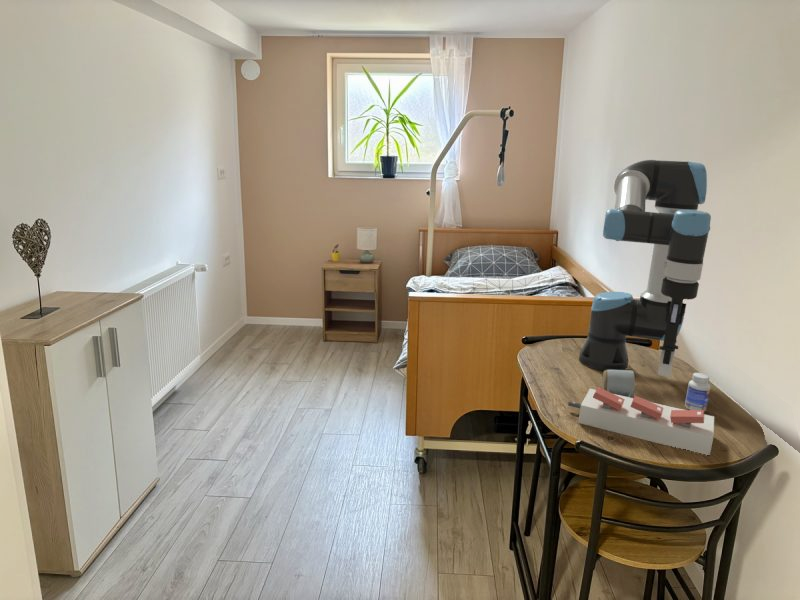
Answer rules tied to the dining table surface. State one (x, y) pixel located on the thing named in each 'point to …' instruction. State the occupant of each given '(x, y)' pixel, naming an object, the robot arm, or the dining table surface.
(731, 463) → the dining table surface
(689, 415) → the block
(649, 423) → the switch panel
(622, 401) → the block
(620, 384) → the ceramic mug
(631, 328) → the robot arm
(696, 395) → the pill bottle
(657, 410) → the block
